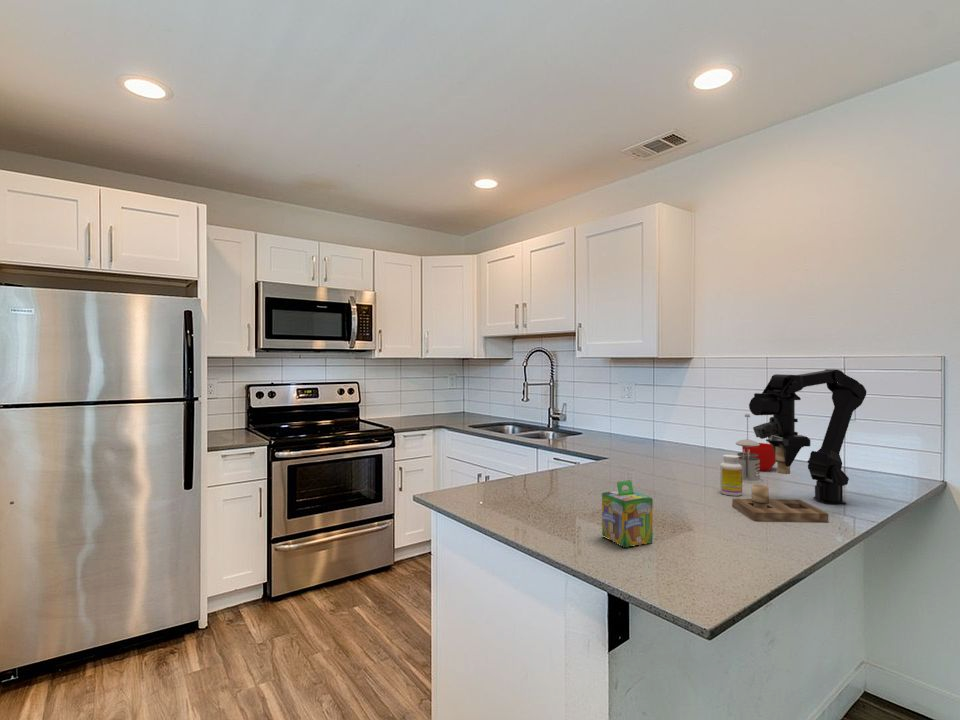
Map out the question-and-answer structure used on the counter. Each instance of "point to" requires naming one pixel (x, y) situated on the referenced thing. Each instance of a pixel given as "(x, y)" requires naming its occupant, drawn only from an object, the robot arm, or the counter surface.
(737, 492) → the supplement bottle
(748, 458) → the french press
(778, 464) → the oak leg
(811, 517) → the brown block with openings
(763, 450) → the ceramic cup
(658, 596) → the counter surface
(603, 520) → the chalk box
